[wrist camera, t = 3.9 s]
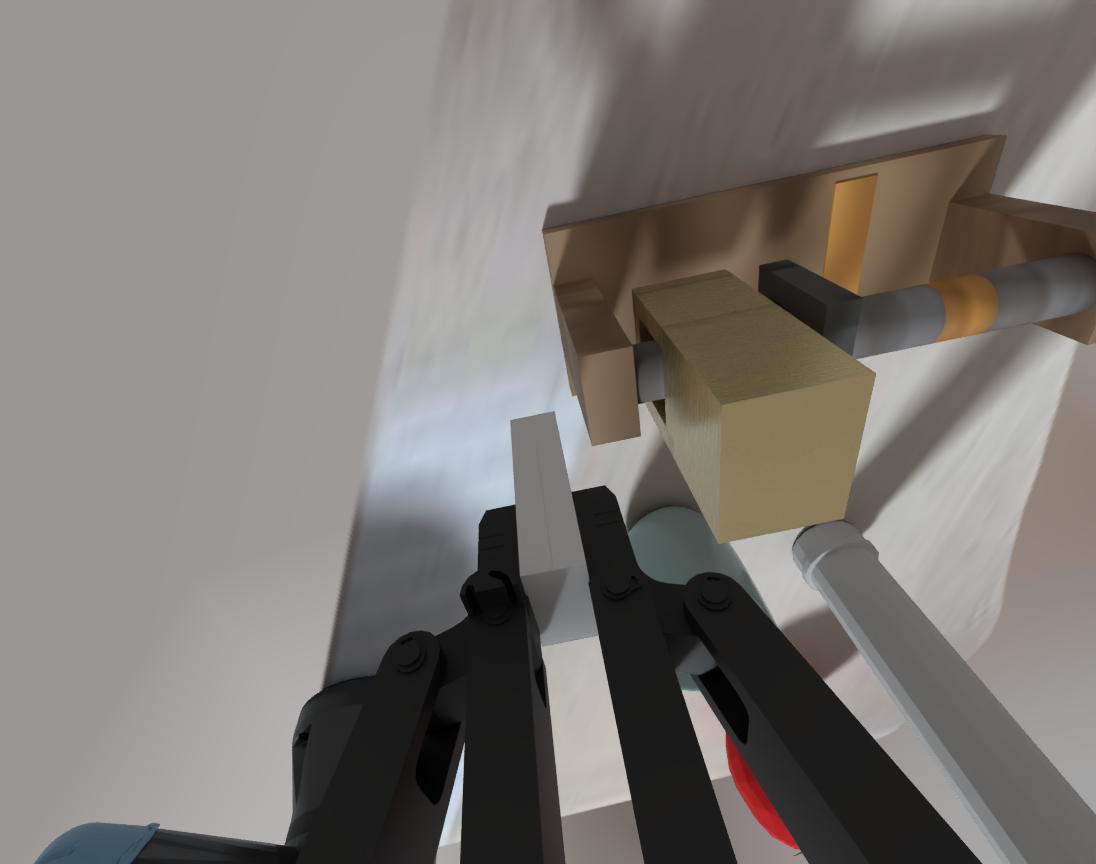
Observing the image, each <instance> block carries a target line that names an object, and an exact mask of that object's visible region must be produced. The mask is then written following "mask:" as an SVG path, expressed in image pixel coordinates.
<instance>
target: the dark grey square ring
mask: <svg viewBox="0 0 1096 864" xmlns="http://www.w3.org/2000/svg"><path fill="white" fill-rule="evenodd" d="M758 292H759V293H761V294H762V295H764V296H765V297H766V298H768V299H769V300H771V301H772V302H774V303H775V304H777V305H778V306H780V307H781V308H782V309H784V310H785V311H787V312H791V311H792V312H793V313H795V314H796V315H798V316H799V317H801V318H802V319H804V320H805V321H806V322H808V327H810V328H811V329H813V330H814V331H816V332H817V333H819V334H820V335H821V336H823V337H824V338H826V339H827V340H829V341H830V342H832V343H833V344H834V345H836V346H837V347H839V348H840V349H842V350H843V351H845V352H846V353H847V354H849V355H850V356H852V355H853V350H854V344H855V339H856V334H857V328H858V323H859V317H860V312H861V307H862V301H863V298H862V297H860V296H858V295H857V294H855V293H853V292H851V291H849V290H847V289H845V288H843V287H841V286H839V285H837V284H835V283H833V282H831V281H829V280H827V279H825V278H823V277H821V276H820V275H818V274H816V273H814V272H812V271H810V270H808V269H806V268H804V267H802V266H800V265H798V264H796V263H794V262H792V261H790V260H788V259H786V260H782V261H777V262H772V263H767V264H763V265H759V280H758Z"/></svg>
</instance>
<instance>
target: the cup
mask: <svg viewBox="0 0 1096 864" xmlns="http://www.w3.org/2000/svg"><path fill="white" fill-rule="evenodd" d="M628 536H629V539H630V542H631V545H632V548H633V552H634V555H635V558H636V561H637V563H638V565H639V567H640V569H641V570H642V571H643V572H644V573H645V574H646V575H648V576H649V577H651V578H652V579H655V580H657V581H660V582H665V583H672V584H683V585H686V584H687V582H688V580H690V579H691V578H692V577H694V576H695V575H697V574H701V573H705V572H716V573H721V574H724V575H727V576H729V577H731V578H733V579H734V580H735V581H736V582H737V583H739V584H740V585H741V586H742V587H743V588H744V590H745V591H746V592H747V593H748V594H749V595H750V597H751V598H752V599H753V600H754V601H755V602H756V603H757V605H758V606H759V607H760V608H761V609H762V610H763V612H764V613H765V614H766V615H767V616H768V617H769V618H770V620H771V621H772V622H773V623H774V624H775V625H776V623H775V621H774V619H773V617H772V615H771V613H770V611H769V609H768V607H767V605H766V604H765V602H764V600H763V598H762V596H761V594H760V593H759V591H758V589H757V587H756V585H755V584H754V582H753V580H752V578H751V577H750V575H749V573H748V572H747V570H746V568H745V566H744V565H743V563H742V561H741V560H740V558H739V556H738V555H737V553H736V552H735V550H734V549H733V547H732V546H731V544H730V543H729V542H725V543H720V544H718V542H717V540H716V538H715V536H714V534H713V533H712V531H711V529H710V527H709V525H708V523H707V521H706V519H705V517H704V516H703V515H701V514H700V513H698V512H696V511H694V510H691V509H688V508H684V507H664V508H661V509H658V510H655V511H653V512H651V513H649V514H647V515H646V516H644V517H643V518H641V519H640V520H639V521H638V522H637V523H636V524H635V525H634V526H633V527H632V529H631V530H630V531H629V533H628ZM776 627H777V625H776ZM777 628H778V627H777ZM676 675H677V678H678V681H679V684H680V687H681V690H687V691H700V690H699V688H698V686H697V685H696V683H695V682H694V680H693V679H692V677H691V675H690V674H689V673H682V672H676Z"/></svg>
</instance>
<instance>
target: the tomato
mask: <svg viewBox="0 0 1096 864" xmlns="http://www.w3.org/2000/svg"><path fill="white" fill-rule="evenodd" d="M726 751H727V758H728V765H729V769H730V772H731V775H732V777H733V780H734V782H735V785H736V788H737V789H738V791H739V793H740V794H741V796H742V798H743V799H744V801H745V802H746V804H747V806H748V807H749V809H750V810H751V812H752V814H753V816H754V817H755V818H756V819H757V820H758V822H759V823H760V824H761V825H762V826H763V827H764V828H765V829H766V830H767V831H768V833H769V834H770V835H771V836H772V837H774V838H776V839H778V840H779V841H781V842H783V843H785V844H786V845H788V846H790V847H793V848H794V849H800V848H799V847H798V845H797V844H796V842H795V841H794V839H793V837H792V836H791V834H790V833H789V831H788V829H787V828H786V826H785V825H784V823H783V821H782V820H781V818H780V817H779V815H778V814H777V812H776V810H775V809H774V807H773V806H772V804H771V802H770V801H769V799H768V798H767V796H766V794H765V793H764V791H763V790H762V788H761V787H760V785H759V783H758V782H757V780H756V779H755V777H754V775H753V774H752V772H751V771H750V769H749V767H748V766H747V764H746V763H745V761H744V760H743V758H742V756H741V755H740V753H739V752H738V750H737V748H736V747H735V745H734V744H733V742H732V740H731V739H730V737H729V736H728V734H727V733H726ZM801 853H802V852H800V853H798V854H801ZM798 854H796V855H798Z"/></svg>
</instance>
